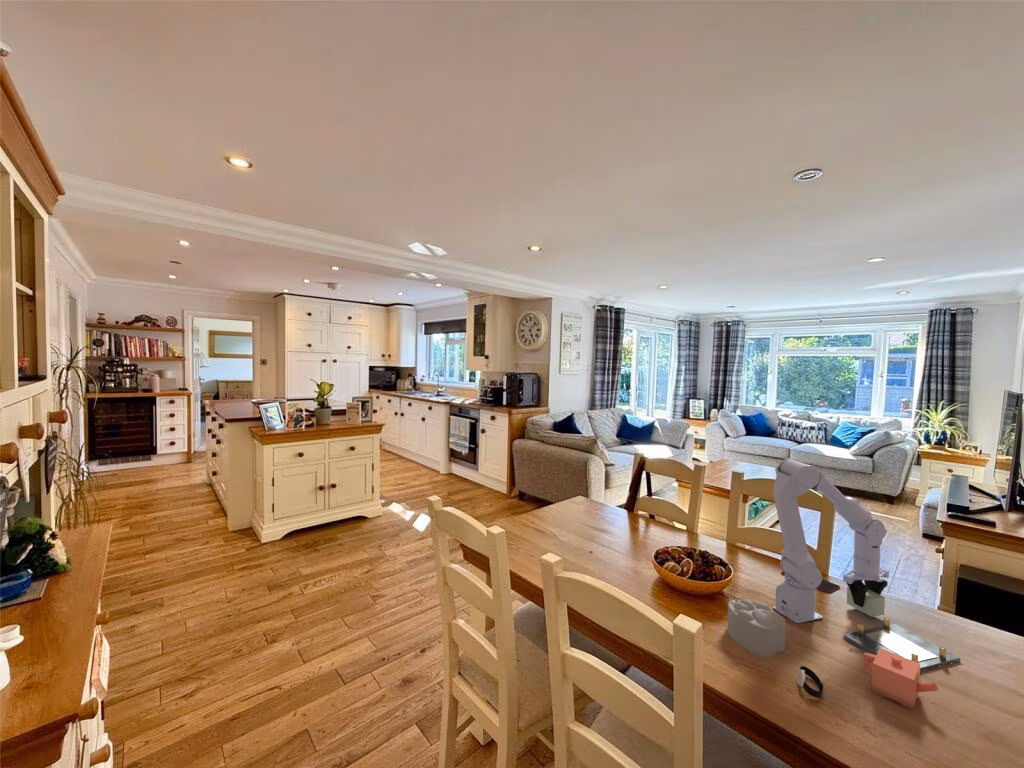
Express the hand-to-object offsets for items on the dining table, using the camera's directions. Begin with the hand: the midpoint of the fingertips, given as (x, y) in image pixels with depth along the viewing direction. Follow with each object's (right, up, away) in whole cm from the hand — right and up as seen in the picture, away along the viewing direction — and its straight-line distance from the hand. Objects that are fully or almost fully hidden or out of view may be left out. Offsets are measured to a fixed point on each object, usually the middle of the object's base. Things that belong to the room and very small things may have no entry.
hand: (865, 603), depth 122 cm
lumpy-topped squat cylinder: (-38, -4, -11) cm, 40 cm away
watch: (-35, -5, -27) cm, 45 cm away
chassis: (-4, -4, -15) cm, 16 cm away
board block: (0, -1, 0) cm, 1 cm away
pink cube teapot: (-18, -5, -30) cm, 35 cm away
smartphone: (-3, -3, +19) cm, 19 cm away
